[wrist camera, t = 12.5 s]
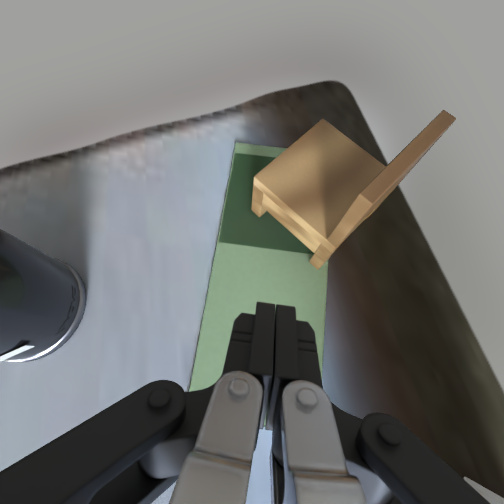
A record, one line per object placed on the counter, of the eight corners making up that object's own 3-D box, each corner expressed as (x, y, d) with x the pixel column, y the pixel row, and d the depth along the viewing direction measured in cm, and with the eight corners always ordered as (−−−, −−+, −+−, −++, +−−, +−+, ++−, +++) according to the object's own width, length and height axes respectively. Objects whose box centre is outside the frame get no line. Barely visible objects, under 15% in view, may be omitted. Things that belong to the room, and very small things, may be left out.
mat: (185, 414, 26) (184, 414, 25) (235, 143, 35) (235, 142, 35) (318, 434, 25) (318, 434, 25) (333, 154, 34) (334, 153, 34)
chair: (251, 210, 32) (258, 112, 19) (308, 158, 34) (348, 43, 22) (317, 270, 30) (372, 204, 17) (373, 211, 32) (457, 118, 20)
